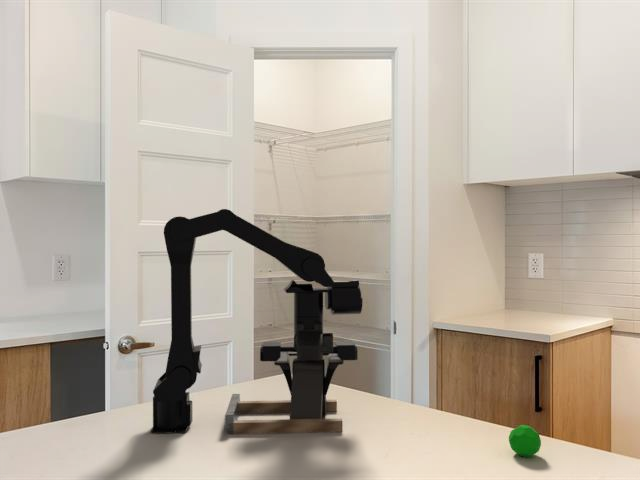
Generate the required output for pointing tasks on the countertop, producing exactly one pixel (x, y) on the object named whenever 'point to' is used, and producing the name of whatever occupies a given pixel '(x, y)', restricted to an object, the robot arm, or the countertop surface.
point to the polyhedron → (524, 441)
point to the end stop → (232, 412)
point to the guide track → (282, 424)
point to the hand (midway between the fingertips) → (308, 394)
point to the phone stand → (308, 390)
